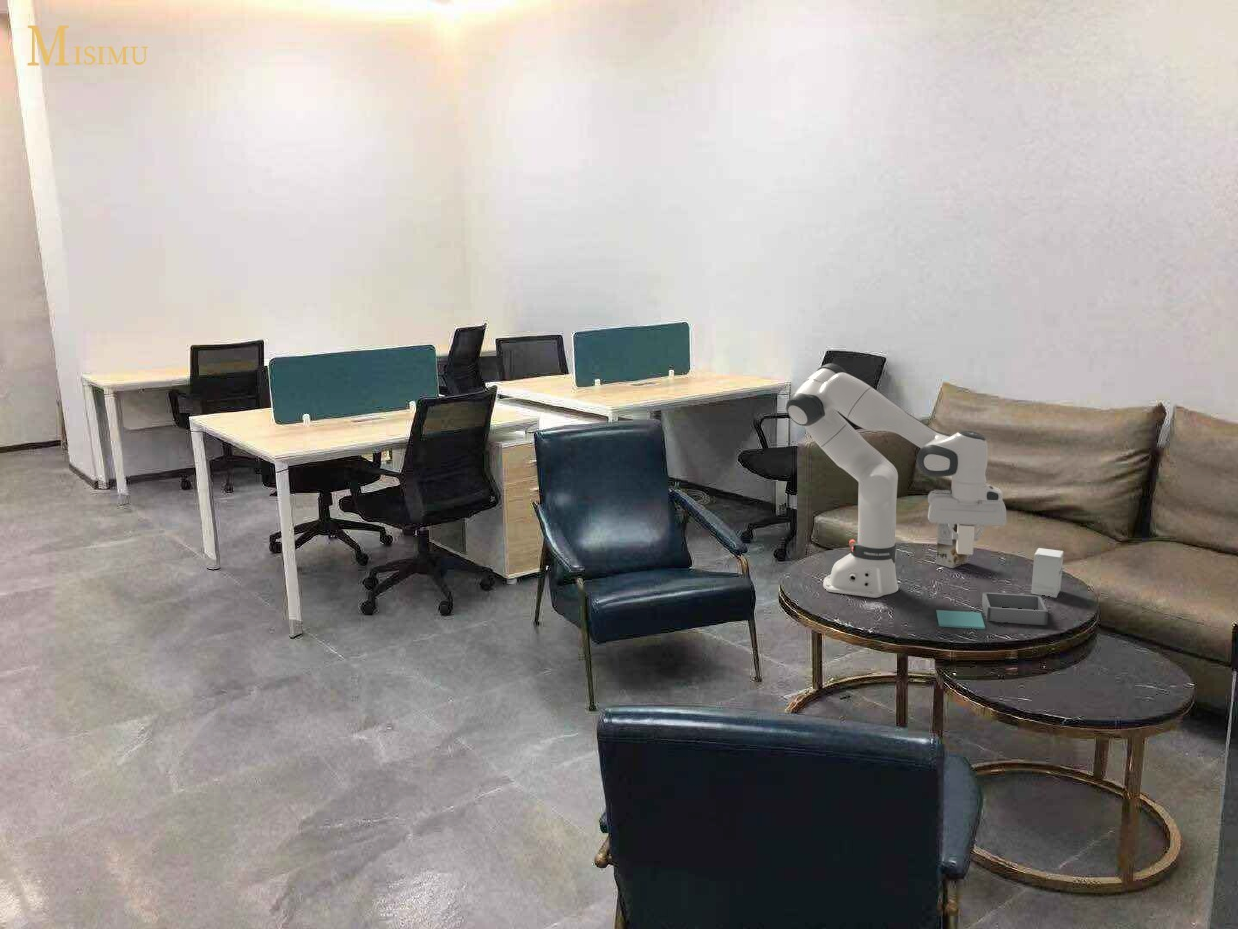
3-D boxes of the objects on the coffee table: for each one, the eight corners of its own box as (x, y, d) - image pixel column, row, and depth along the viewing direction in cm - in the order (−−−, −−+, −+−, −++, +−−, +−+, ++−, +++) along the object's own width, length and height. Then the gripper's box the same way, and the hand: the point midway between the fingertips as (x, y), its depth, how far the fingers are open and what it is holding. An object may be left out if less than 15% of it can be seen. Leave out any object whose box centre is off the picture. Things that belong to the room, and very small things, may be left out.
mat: (939, 626, 273) (939, 624, 273) (936, 611, 284) (936, 610, 283) (985, 629, 270) (985, 627, 270) (980, 614, 281) (980, 612, 281)
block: (957, 553, 271) (959, 525, 269) (956, 549, 275) (957, 521, 273) (972, 554, 270) (974, 526, 268) (971, 550, 274) (973, 522, 272)
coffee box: (952, 568, 320) (955, 521, 316) (935, 564, 324) (937, 517, 321) (968, 562, 325) (971, 515, 322) (951, 558, 330) (953, 511, 326)
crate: (987, 621, 276) (987, 607, 275) (981, 605, 288) (982, 592, 287) (1046, 625, 272) (1048, 611, 271) (1039, 608, 284) (1040, 595, 283)
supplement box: (1057, 598, 292) (1060, 557, 289) (1030, 594, 296) (1033, 553, 293) (1061, 590, 298) (1064, 550, 296) (1034, 586, 302) (1038, 547, 299)
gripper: (929, 492, 268) (926, 540, 271) (1009, 495, 263) (1005, 544, 266) (927, 486, 274) (925, 534, 277) (1006, 489, 269) (1002, 538, 272)
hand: (965, 539), depth 272 cm, fingers closed on block, 4 cm apart
